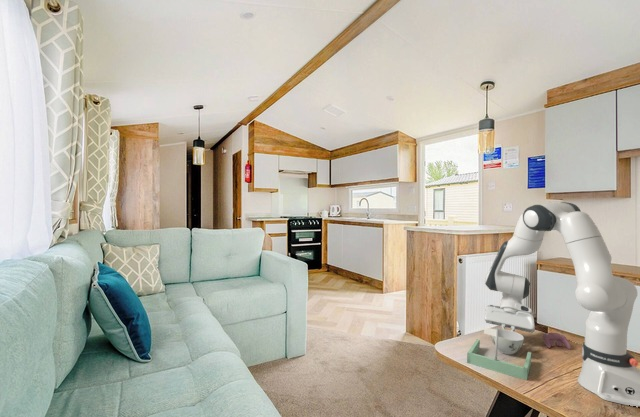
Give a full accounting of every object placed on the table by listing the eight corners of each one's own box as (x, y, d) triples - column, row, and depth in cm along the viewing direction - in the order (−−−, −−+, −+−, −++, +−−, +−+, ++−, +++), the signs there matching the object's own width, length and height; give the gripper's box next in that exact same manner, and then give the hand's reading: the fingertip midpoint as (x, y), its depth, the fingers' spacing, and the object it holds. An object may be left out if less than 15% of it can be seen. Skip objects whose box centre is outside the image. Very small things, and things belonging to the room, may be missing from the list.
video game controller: (566, 349, 146) (562, 333, 149) (572, 349, 142) (568, 332, 145) (543, 348, 147) (539, 332, 150) (549, 348, 143) (545, 331, 146)
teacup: (530, 359, 133) (530, 340, 133) (499, 358, 133) (500, 339, 133) (509, 343, 148) (510, 326, 148) (482, 342, 148) (482, 325, 148)
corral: (531, 362, 130) (532, 323, 130) (526, 380, 117) (528, 337, 117) (476, 347, 143) (477, 312, 143) (467, 362, 129) (468, 323, 129)
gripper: (485, 300, 157) (481, 326, 150) (535, 309, 145) (533, 338, 137) (487, 307, 161) (482, 332, 154) (536, 316, 148) (533, 345, 141)
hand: (507, 335), depth 145 cm, fingers closed
